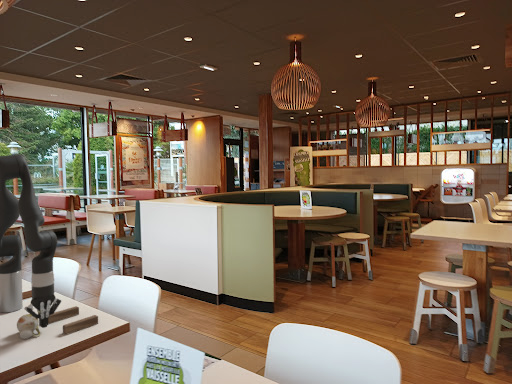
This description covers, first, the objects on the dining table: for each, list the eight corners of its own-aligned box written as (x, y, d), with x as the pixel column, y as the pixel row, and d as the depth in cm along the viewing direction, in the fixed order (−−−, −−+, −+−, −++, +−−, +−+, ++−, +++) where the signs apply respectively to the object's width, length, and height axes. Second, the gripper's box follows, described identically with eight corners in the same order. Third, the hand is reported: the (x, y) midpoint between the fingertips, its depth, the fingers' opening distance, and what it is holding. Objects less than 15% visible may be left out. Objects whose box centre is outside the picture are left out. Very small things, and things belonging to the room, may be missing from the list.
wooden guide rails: (44, 322, 151) (44, 315, 150) (76, 312, 161) (76, 306, 161) (66, 334, 140) (65, 327, 140) (98, 323, 150) (98, 316, 150)
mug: (14, 344, 133) (9, 317, 135) (23, 344, 141) (18, 319, 144) (37, 335, 135) (32, 309, 138) (44, 336, 144) (39, 312, 147)
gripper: (56, 277, 148) (57, 319, 149) (19, 285, 138) (20, 330, 139) (65, 281, 144) (65, 324, 145) (27, 289, 133) (29, 335, 134)
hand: (43, 326), depth 142 cm, fingers closed
